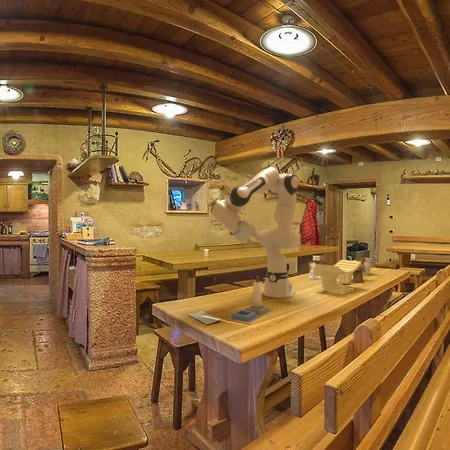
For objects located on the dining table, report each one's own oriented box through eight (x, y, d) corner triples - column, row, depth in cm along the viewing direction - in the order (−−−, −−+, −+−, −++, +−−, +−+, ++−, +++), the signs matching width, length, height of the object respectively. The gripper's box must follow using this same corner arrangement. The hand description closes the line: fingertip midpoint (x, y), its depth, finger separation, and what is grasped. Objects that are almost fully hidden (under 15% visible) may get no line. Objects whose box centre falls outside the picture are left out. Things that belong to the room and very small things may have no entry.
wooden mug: (367, 281, 268) (368, 256, 268) (360, 283, 258) (361, 258, 257) (355, 279, 274) (356, 255, 274) (348, 281, 264) (349, 256, 263)
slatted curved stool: (337, 285, 251) (338, 259, 250) (360, 289, 239) (361, 261, 239) (313, 291, 230) (314, 263, 229) (337, 296, 218) (337, 266, 218)
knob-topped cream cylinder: (255, 309, 183) (255, 274, 182) (262, 310, 181) (263, 275, 180) (251, 311, 180) (252, 276, 179) (258, 312, 178) (259, 277, 177)
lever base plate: (251, 308, 188) (251, 302, 188) (273, 312, 182) (273, 306, 182) (226, 320, 168) (226, 313, 168) (249, 324, 161) (249, 318, 161)
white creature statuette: (309, 280, 269) (309, 263, 268) (304, 278, 277) (305, 262, 277) (321, 279, 270) (321, 263, 270) (316, 277, 279) (316, 261, 278)
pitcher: (354, 272, 306) (354, 255, 305) (376, 275, 293) (376, 258, 293) (348, 274, 298) (348, 256, 297) (370, 277, 285) (371, 259, 285)
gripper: (244, 214, 182) (266, 232, 181) (236, 226, 201) (255, 243, 200) (237, 223, 179) (258, 241, 178) (229, 235, 199) (248, 251, 198)
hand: (257, 242), depth 189 cm, fingers open, 8 cm apart
